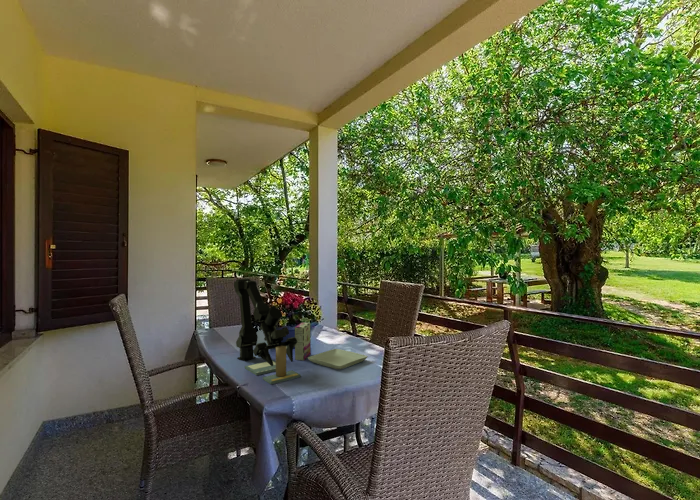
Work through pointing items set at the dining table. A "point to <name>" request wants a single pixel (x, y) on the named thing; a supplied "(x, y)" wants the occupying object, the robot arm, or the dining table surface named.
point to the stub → (281, 368)
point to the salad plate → (337, 358)
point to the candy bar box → (302, 341)
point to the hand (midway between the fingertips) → (282, 363)
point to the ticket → (261, 368)
